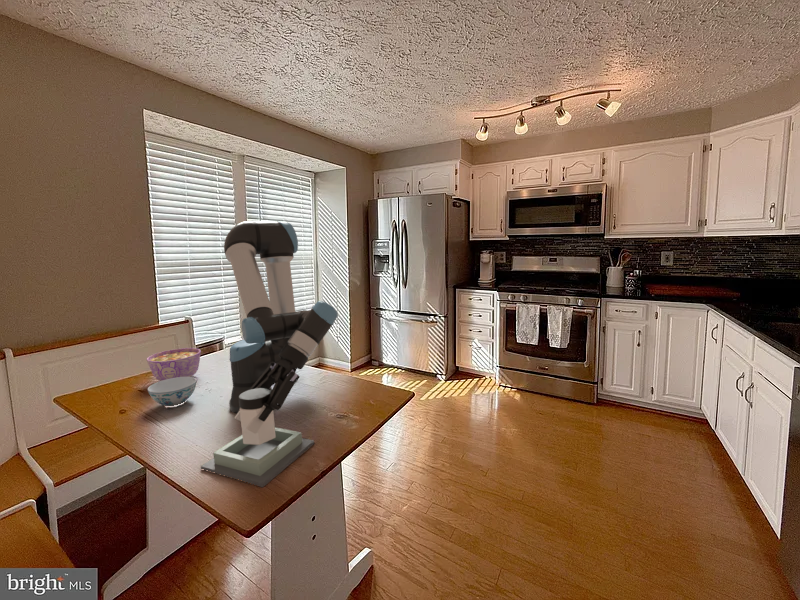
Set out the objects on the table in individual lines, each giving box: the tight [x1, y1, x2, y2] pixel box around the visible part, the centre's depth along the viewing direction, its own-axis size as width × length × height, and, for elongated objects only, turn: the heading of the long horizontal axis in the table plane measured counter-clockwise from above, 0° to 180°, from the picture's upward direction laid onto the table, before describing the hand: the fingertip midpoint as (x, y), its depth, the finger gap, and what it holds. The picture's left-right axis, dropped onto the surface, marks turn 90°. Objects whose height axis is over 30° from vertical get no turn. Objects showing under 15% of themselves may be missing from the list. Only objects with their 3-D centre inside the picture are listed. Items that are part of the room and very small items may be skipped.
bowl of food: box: [146, 347, 202, 382], centre depth 158 cm, size 20×20×12 cm
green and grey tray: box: [200, 426, 315, 488], centre depth 98 cm, size 20×20×4 cm
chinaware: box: [147, 376, 197, 406], centre depth 134 cm, size 15×15×8 cm
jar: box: [239, 388, 276, 445], centre depth 96 cm, size 9×8×12 cm
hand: (244, 425), depth 94 cm, fingers closed on jar, 8 cm apart
